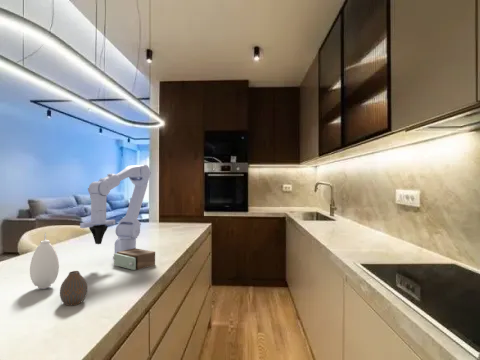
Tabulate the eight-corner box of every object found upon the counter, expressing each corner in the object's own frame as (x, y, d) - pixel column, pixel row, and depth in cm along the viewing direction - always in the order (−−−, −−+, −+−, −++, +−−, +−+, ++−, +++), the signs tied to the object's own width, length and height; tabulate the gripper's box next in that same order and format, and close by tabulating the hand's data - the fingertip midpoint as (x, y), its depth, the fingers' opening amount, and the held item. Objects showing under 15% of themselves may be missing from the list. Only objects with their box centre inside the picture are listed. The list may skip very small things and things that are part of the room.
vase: (58, 309, 82) (59, 276, 82) (60, 300, 88) (60, 270, 88) (87, 305, 85) (87, 273, 86) (87, 296, 91) (87, 267, 92)
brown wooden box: (116, 265, 128) (116, 251, 128) (134, 260, 136) (134, 248, 136) (137, 269, 121) (138, 255, 121) (155, 264, 129) (155, 251, 129)
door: (111, 265, 126) (111, 253, 126) (115, 264, 128) (115, 253, 128) (131, 270, 118) (131, 258, 118) (135, 269, 120) (135, 257, 120)
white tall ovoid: (37, 294, 93) (38, 235, 94) (24, 289, 98) (26, 232, 98) (63, 286, 100) (64, 231, 100) (50, 282, 104) (51, 230, 105)
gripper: (87, 212, 117) (87, 247, 117) (120, 209, 129) (119, 242, 129) (77, 211, 121) (76, 245, 120) (109, 209, 133) (109, 240, 133)
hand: (98, 243), depth 125 cm, fingers closed
